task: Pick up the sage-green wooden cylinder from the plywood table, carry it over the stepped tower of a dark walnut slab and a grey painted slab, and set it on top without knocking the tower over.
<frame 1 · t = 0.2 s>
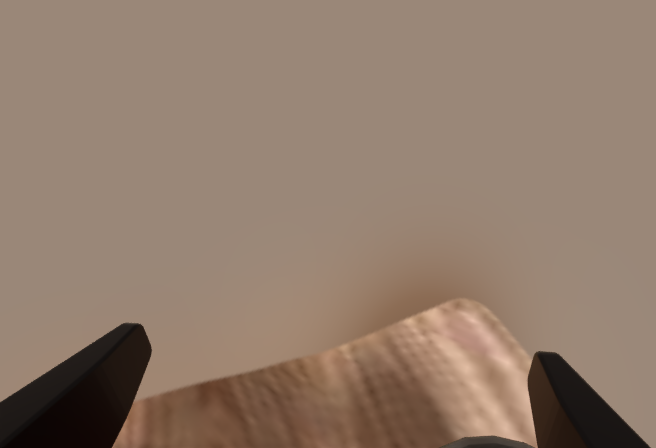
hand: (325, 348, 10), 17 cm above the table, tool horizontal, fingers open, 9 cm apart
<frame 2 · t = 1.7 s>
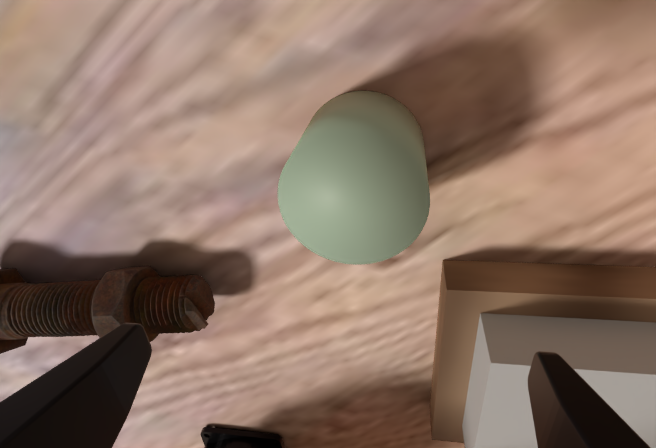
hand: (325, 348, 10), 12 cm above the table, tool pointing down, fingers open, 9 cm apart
grey top slab: (560, 382, 22), point 2 cm above the table, touching walnut base slab
green cylinder: (363, 151, 19), on the table
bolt: (111, 282, 27), on the table
walnut base slab: (540, 340, 25), on the table, touching grey top slab
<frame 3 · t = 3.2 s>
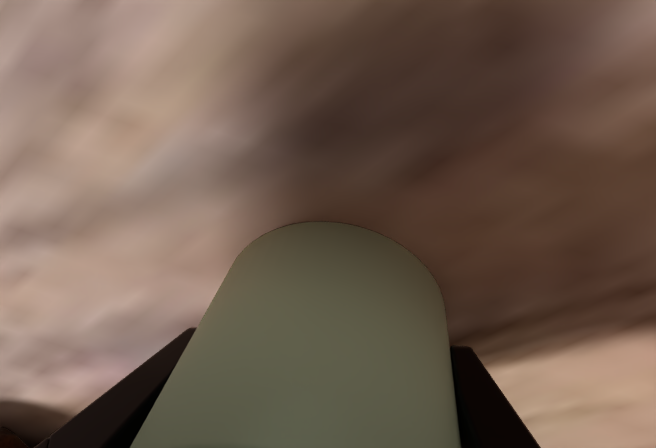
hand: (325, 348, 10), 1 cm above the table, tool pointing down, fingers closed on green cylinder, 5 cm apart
green cylinder: (331, 315, 11), on the table, touching gripper
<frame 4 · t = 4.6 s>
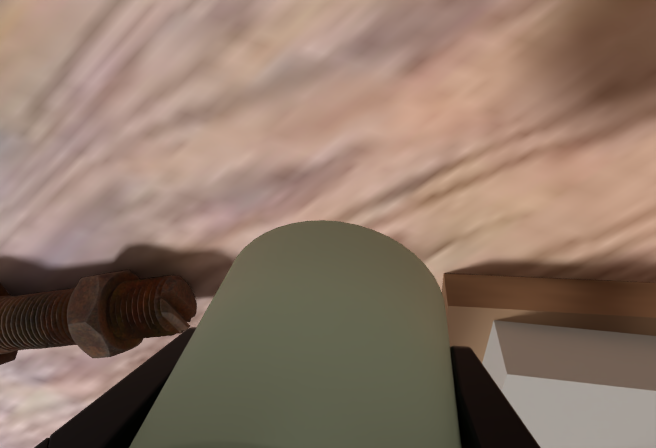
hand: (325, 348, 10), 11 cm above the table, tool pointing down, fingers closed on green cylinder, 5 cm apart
grey top slab: (570, 395, 21), point 2 cm above the table, touching walnut base slab
green cylinder: (331, 314, 11), point 10 cm above the table, touching gripper
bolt: (95, 289, 26), on the table
walnut base slab: (543, 355, 24), on the table, touching grey top slab
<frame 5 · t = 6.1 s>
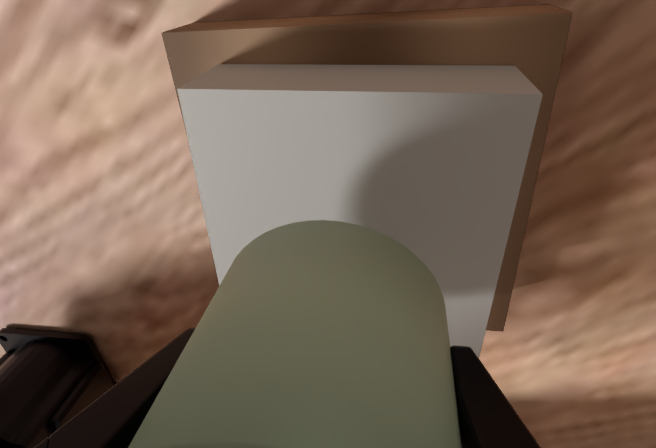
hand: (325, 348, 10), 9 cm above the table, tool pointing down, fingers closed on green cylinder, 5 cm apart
grey top slab: (358, 194, 15), point 2 cm above the table
green cylinder: (331, 314, 11), point 8 cm above the table, touching gripper
walnut base slab: (363, 168, 18), on the table
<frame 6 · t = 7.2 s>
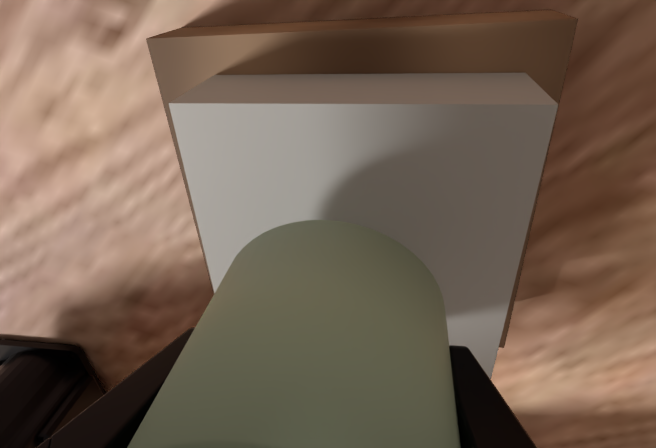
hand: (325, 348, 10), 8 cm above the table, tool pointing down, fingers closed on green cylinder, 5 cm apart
grey top slab: (361, 208, 15), point 2 cm above the table, touching walnut base slab
green cylinder: (331, 314, 11), point 7 cm above the table, touching gripper
walnut base slab: (358, 178, 17), on the table, touching grey top slab
when the fingers open (8 cm above the table, at t = 7.4 s): green cylinder drops 2 cm, resting on grey top slab.
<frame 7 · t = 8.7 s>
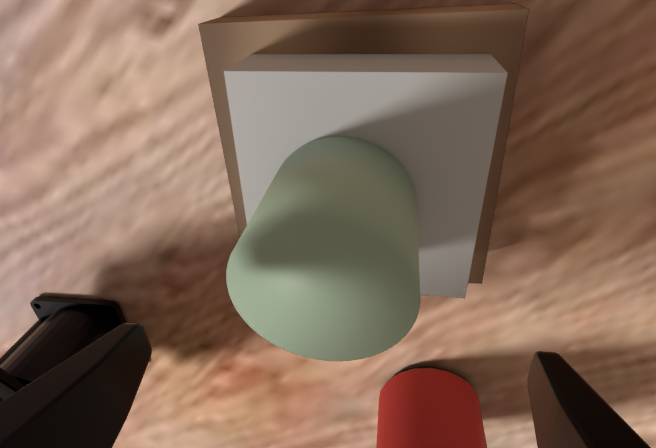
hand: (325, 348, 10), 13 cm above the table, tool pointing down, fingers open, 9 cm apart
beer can: (427, 392, 29), on the table
grey top slab: (364, 164, 18), point 2 cm above the table, touching green cylinder, walnut base slab
green cylinder: (342, 205, 16), point 5 cm above the table, touching grey top slab
walnut base slab: (362, 144, 21), on the table, touching grey top slab
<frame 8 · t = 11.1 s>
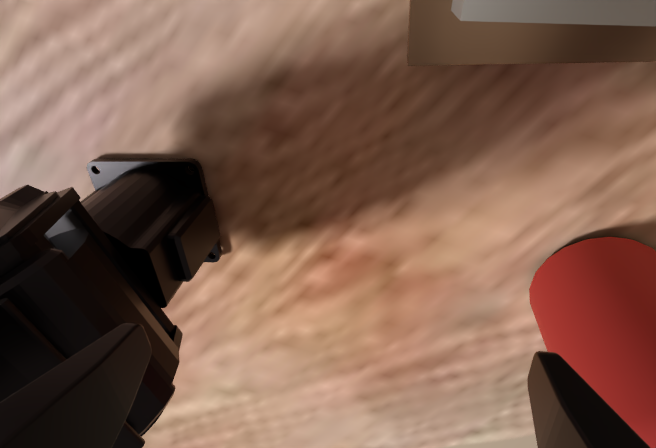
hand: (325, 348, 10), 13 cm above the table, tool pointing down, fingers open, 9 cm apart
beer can: (590, 279, 23), on the table
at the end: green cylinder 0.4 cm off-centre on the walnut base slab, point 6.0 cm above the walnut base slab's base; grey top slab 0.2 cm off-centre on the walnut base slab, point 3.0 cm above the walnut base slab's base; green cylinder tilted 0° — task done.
